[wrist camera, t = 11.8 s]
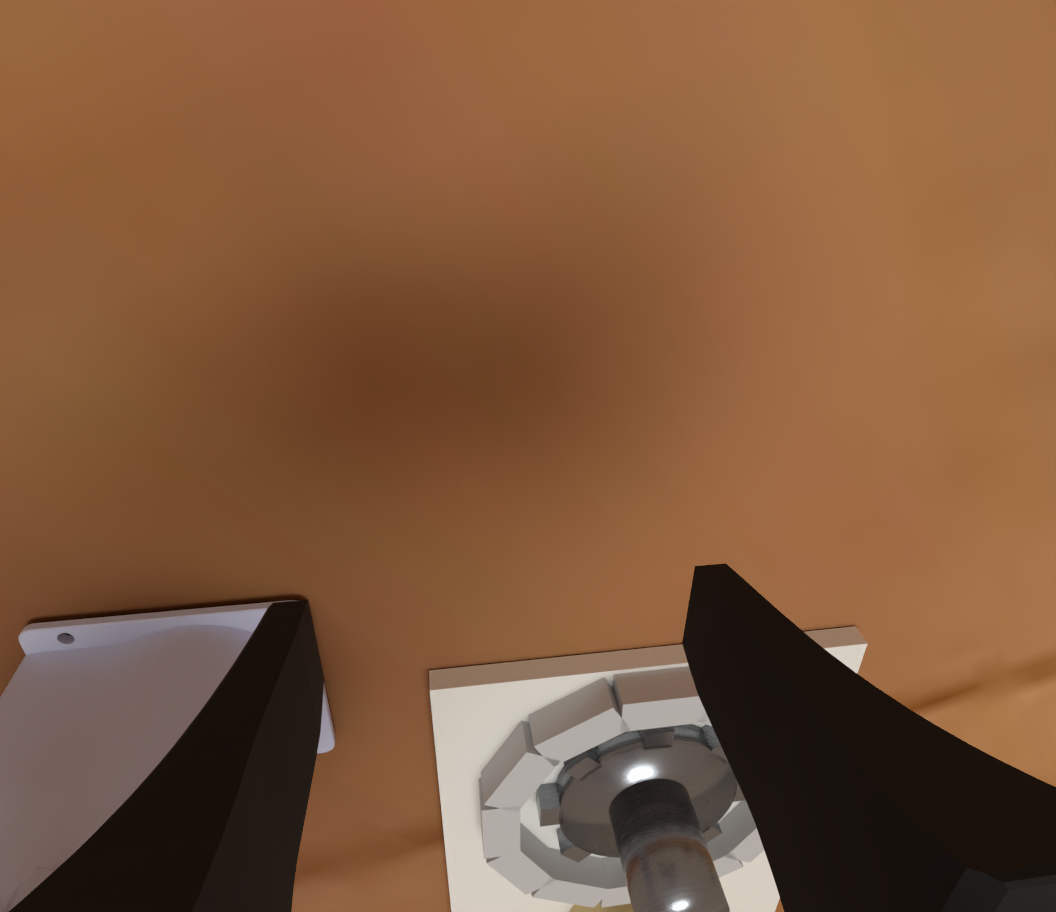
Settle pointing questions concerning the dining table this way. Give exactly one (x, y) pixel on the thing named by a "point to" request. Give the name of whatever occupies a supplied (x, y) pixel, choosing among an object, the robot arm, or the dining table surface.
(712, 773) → the gear
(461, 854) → the carrier plate
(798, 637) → the robot arm
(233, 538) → the dining table surface
